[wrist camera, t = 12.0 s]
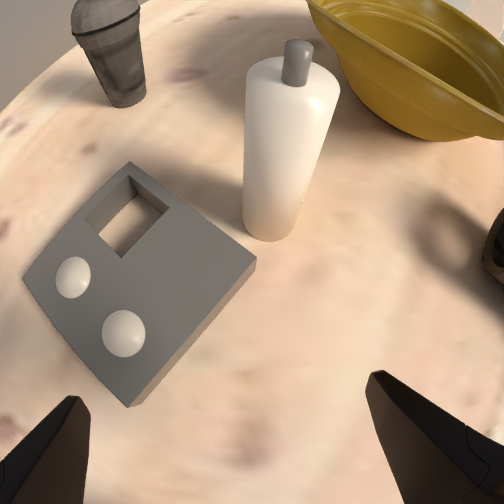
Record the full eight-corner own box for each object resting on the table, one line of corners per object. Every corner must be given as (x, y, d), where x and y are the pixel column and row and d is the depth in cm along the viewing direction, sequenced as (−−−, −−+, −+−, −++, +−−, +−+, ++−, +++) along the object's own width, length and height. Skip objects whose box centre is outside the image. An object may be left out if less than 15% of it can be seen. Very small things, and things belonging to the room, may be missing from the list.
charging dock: (141, 403, 20) (126, 408, 17) (40, 288, 22) (20, 277, 19) (254, 270, 24) (257, 256, 21) (138, 180, 26) (129, 159, 23)
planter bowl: (399, 254, 25) (495, 168, 12) (238, 52, 35) (240, -34, 22) (521, 166, 31) (568, 116, 19) (396, 36, 41) (416, -19, 28)
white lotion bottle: (274, 252, 24) (319, 87, 9) (231, 220, 25) (225, 45, 10) (304, 214, 26) (365, 52, 11) (263, 186, 27) (285, 18, 12)
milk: (494, 45, 52) (523, -10, 28) (491, 51, 49) (523, -10, 25) (464, 23, 55) (489, -33, 31) (457, 26, 52) (485, -37, 27)
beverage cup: (100, 90, 31) (57, -39, 13) (153, 72, 33) (127, -64, 14) (102, 124, 29) (43, -27, 10) (162, 103, 30) (130, -60, 12)
